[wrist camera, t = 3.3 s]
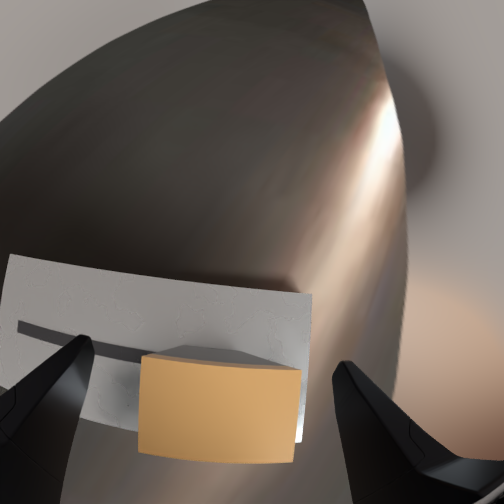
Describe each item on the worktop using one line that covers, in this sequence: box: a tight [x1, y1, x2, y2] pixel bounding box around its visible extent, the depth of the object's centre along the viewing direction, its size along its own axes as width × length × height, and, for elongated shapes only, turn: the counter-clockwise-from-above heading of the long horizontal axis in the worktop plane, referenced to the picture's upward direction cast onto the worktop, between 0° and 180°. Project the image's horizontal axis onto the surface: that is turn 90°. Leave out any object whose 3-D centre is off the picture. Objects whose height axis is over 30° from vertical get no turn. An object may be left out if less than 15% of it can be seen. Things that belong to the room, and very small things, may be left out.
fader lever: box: [138, 345, 302, 463], centre depth 9 cm, size 3×2×10 cm, turn 85°
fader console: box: [0, 254, 312, 442], centre depth 15 cm, size 20×9×2 cm, turn 85°
